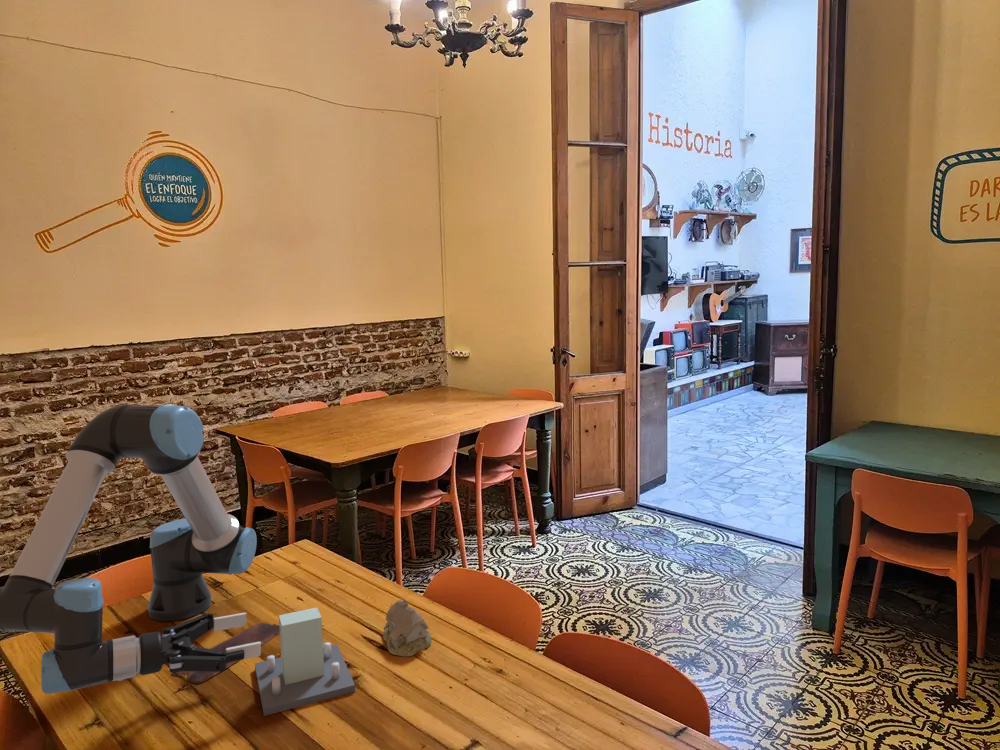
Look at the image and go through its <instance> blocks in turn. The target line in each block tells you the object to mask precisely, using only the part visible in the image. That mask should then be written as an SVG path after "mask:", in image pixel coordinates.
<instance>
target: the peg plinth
mask: <svg viewBox="0 0 1000 750" xmlns="http://www.w3.org/2000/svg"><path fill="white" fill-rule="evenodd" d="M323 657H324V675H323V676H319V677H315V678H311V679H307V680H303V681H299V682H295V683H291V684H287V685H285V681H284V678H283V674H282V661H281V656H280V657H278V658H277V657H276V658H275V655H273V654H271V655H268V656H266V660H264V661H259V662H255V663H254V670H255V675H256V676H255V677H256V680H257V687H258V691H259V696H260V698H259V699H260V701H261V702H260V703H261V708H262V712H263V716H264V717H266V716H270V715H274V714H277V713H280V712H284V711H289V710H291V709H295V708H299V707H303V706H307V705H310V704H311V705H312V704H314V703H319V702H322V701H324V700H329V699H333V698H336V697H341V696H344V695H349V694H351V693H356V685H355V682H354V679H353V677H352V675H351V672H350V670H349V668H348V666H347V663H346V660H345V659H344V657H343V655H342V652H341V650H340V648H339V645H338V644H337V643H336V644H332V643H331V642H330V641H328V642H323Z"/></svg>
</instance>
